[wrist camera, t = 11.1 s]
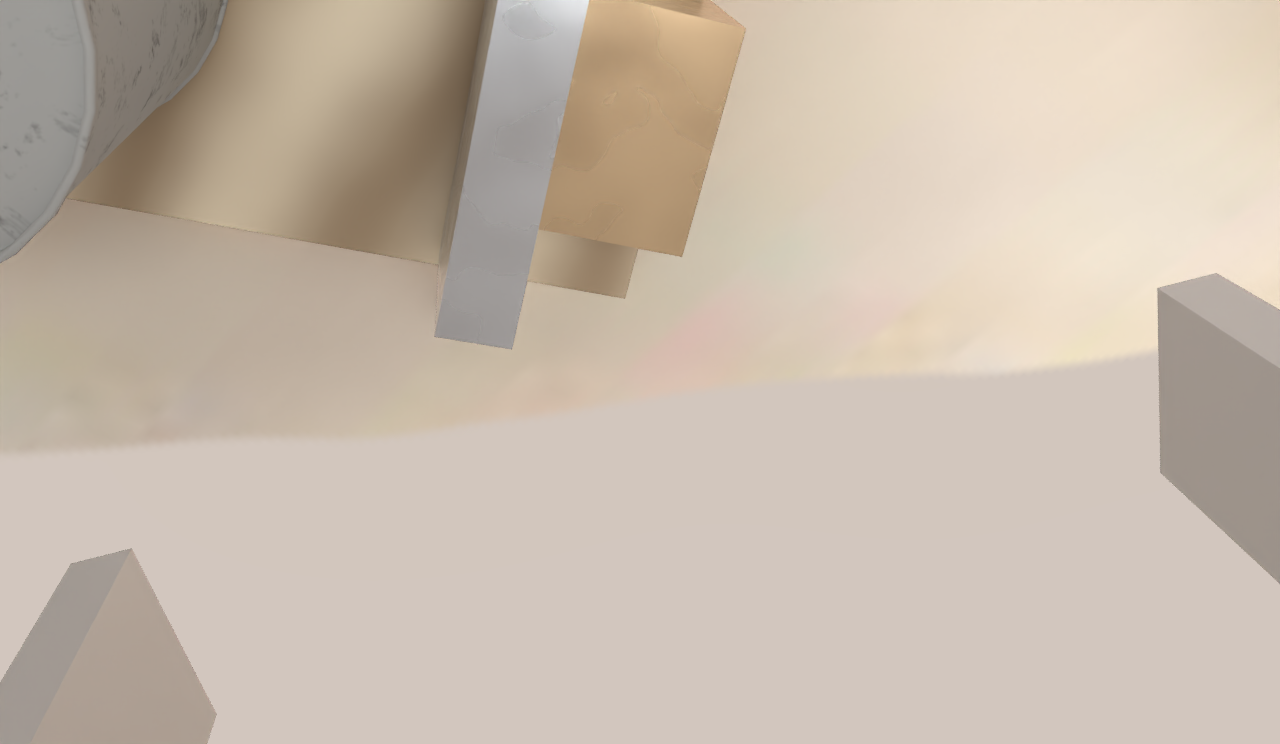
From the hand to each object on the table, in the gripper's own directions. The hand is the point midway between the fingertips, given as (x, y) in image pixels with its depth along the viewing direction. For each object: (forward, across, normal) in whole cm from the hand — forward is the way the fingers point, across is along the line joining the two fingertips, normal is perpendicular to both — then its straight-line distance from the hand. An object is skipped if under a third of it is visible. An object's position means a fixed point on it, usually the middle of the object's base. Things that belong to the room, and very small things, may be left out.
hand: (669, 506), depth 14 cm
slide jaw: (+21, +1, +2) cm, 21 cm away
